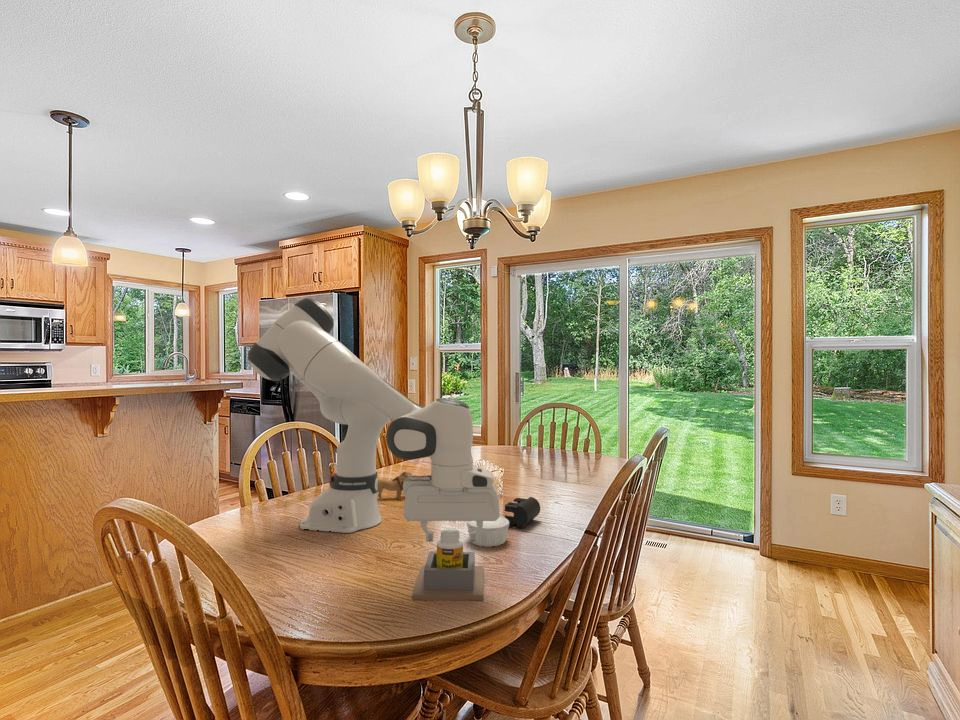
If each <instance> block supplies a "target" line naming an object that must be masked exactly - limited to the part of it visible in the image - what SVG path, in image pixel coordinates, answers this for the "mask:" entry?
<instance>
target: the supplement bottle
mask: <svg viewBox="0 0 960 720" xmlns="http://www.w3.org/2000/svg"><path fill="white" fill-rule="evenodd" d="M460 537H461V536H460V530H459V529H457V528H452V527H451V528H444V529H442V530H440V539H438V540H437V542H436V552H437V568H463V552H464V541H463V540H462V538H460Z"/></svg>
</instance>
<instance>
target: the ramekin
mask: <svg viewBox="0 0 960 720" xmlns="http://www.w3.org/2000/svg"><path fill="white" fill-rule="evenodd" d="M466 526H467V530H468V538H469V541H470V542H471V531H475V530H476V528H477V525H476V521H466ZM509 528H510V527H509V520H508V519H506V518H505V516H500V517H499V518H498V520H497V521H483V527H482V529H481V530H480V532H479V534H478V542H471V543H472V544H473V545H475V544H476V545H475V546H477V545H479V546H478V547H482V546H484V548H491V547H492V546H495V547H498V545H499V546H501V544H502V545H503V544H504V543H505V542H506V541H507V538H508V531H509Z"/></svg>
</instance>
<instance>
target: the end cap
mask: <svg viewBox="0 0 960 720" xmlns="http://www.w3.org/2000/svg"><path fill="white" fill-rule="evenodd" d="M504 512H507V513H513V516H512V515H504V518H506V519H508V520H509V526H510V527H509V528H512V527H516V528H515V529H518V528H519V529H521V528H523V527H524V526H526V525H527V524H529V523H530V522H531V521H533V520H534V519H535V518H536V517H538V516H539V515H540V512H541V504H540V502H539V501H538V500H537V498H535V497H534V496H530V497H528V498H523V497H516V498H514V499H513V502H509V501H508V502H507V503H506V504H505V505H504Z"/></svg>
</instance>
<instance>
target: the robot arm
mask: <svg viewBox="0 0 960 720" xmlns="http://www.w3.org/2000/svg"><path fill="white" fill-rule="evenodd" d="M334 321H335V319H334V318H333V316H332V314H331V312H330V311H329V309H328V308H327V307H326V306H325V305H324V304H323V303H321V302H320V301H317V300H315V299H314V298H309V297H305V298H302V299H300V300H299V301H297V302H296V303H295V304H294V306H293V307H291V308H290V309H289V310H287V311H286V312H284V313H283V314H282V315H281V316H279V317H278V318H277V319H276V320H275V321H274V322H273V324H272V325H271V326H270V327H269V328H268V329H267V330H266V331H265V333H263V335H261V336H260V338H259V339H258V341H257V342H254V343H253V344H252V346H251V347H250V349H249V350H248V352H247V360H248V361H249V363H250V366H251V368H252V369H253V370H254V372H255V373H256V374H258V375H259V376H260V377H262V378H264V379H265V380H268V381H269V380H270V381H272V382H279V381H281V380H283V379H285V378H286V377H288V376H290V374H292V375H293V376H294V377H295V378H296V379H297V380H298V381H299V382H300V383H301V384H302V385H303V386H305V388H306V389H308V390H309V392H311V393H312V394H313V395H314V396H315V398H316V399H317V400H318V402H319V410H320V413H321V415H322V416H323V417H324V418H325V419H327V420H329V421H331V422H333V423H336V424H338V425H339V424H340V425H348V426H347V432H346V435H345V437H344V439H343V441H341V442H339V443H338V445H337V447H336V471H334V472H333V473H332V474H331V476H330V477H329V478H328V484H329V486H330V487H328V488H327V489H326V490H325V491H323V492H322V493H321V494H319V495H318V496H317V497H316V498H315V499H314V500H313V501H312V502H311V504H310V507H309V510H308V514H307V515H306V516H304V518H302V519H301V521H300V524H299V528H300V529H301V530H304V529H309V530H308V531H317V530H319V531H321V532H329V531H331V532H333V533H342V534H343V533H344V534H347V533H348V534H349V533H354V532H357V531H360V530H364V529H369V528H372V527H376V526H377V525H379V524H381V522H382V516H381V512H380V508H379V502H378V495H377V494H378V492H377V490H378V480H379V479H378V472H377V446H378V441H379V439H380V435H381V432H382V430H383V429H384V427H385V426H387V424H388V423H390V421H391V423H390V424H389V425H388V427H387V430H386V432H385V441H386V445H387V449H388V450H389V451H390V453H391V454H392V455H393V457H394V456H395V457H396V458H397V459H400V460H403V461H414V460H418V459H424V458H425V459H426V458H429V459H430V466H431V467H430V475H413V474H412V475H411V476H410V477H409V478H407V479H405V481H404V482H403V490H402V493H403V495H404V497H405V498H404V505H403V506H404V507H403V517H404V519H405V520H406V521H407V522H420V527H421V529H422V531H423V532H424V534H425V541H426V543H427V542H434V538H435V537H434V532H435V531H434V530H430V528H429V527H428V524H429V522H467V521H476V525H477V528H476V530H475V531H471V541H470V542H471V543H472V542H478V534H479V532H480V530H481V529H482V527H483V521H497V520H498V518H499V517H501V515H500V514H501V513H500V510H501V509H500V501H499V495H498V489H497V487H496V485H495V484H494V482H495V481H494V479H495V477H494V474H493V472H492V471H491V470H489V469H485V468H483V467H478V466H477V465H474V459H473V455H472V446H473V442H474V430H473V429H474V428H473V427H474V426H473V425H474V424H473V417H472V412H471V411H472V410H471V409H470V406H469V405H468V404H467V403H466V402H464V401H462V400H459V399H454V398H448V397H447V398H446V397H442V398H441V397H439V398H436V399H435V400H434V401H432V402H431V403H429V404H427V405H426V406H423V405H421V404H418V403H416V402H414V401H413V400H411V399H410V398H409V397H407V396H406V395H405V394H403V393H402V392H401V391H399V390H398V389H397V388H395V387H394V386H392V385H391V384H390V383H389V382H387V381H386V380H384V379H383V378H382V377H380V376H379V375H377V373H376V372H375V371H373V370H372V368H370V367H368V365H367V364H366V363H364V362H363V361H362V360H361V359H359V358H358V357H357V355H355V354H354V353H353V352H352V351H351V350H350V349H349V348H348V347H346V346H345V345H344V344H343V343H342V342H341V341H339V340H338V339H337V338H335V337H334V336H333V335H331V334H330V333H331V331H332V330H333V328H334V324H335V323H334ZM409 479H410V481H407V480H409ZM319 531H318V532H319ZM331 532H330V533H331Z"/></svg>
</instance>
